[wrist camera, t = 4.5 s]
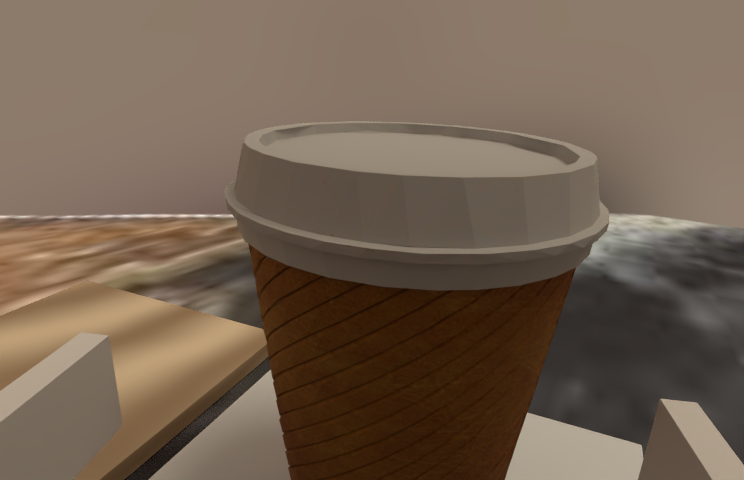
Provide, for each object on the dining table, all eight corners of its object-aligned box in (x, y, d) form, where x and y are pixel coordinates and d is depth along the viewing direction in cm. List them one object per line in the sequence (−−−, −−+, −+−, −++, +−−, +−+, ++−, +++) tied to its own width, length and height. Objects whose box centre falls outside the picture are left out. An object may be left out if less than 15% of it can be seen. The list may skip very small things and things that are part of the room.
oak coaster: (279, 347, 26) (279, 333, 26) (1, 584, 14) (-6, 564, 14) (89, 292, 31) (87, 280, 31) (-237, 432, 19) (-245, 414, 19)
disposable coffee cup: (572, 696, 12) (707, 201, 8) (188, 627, 13) (132, 162, 9) (517, 425, 21) (567, 129, 17) (293, 397, 22) (289, 114, 18)
